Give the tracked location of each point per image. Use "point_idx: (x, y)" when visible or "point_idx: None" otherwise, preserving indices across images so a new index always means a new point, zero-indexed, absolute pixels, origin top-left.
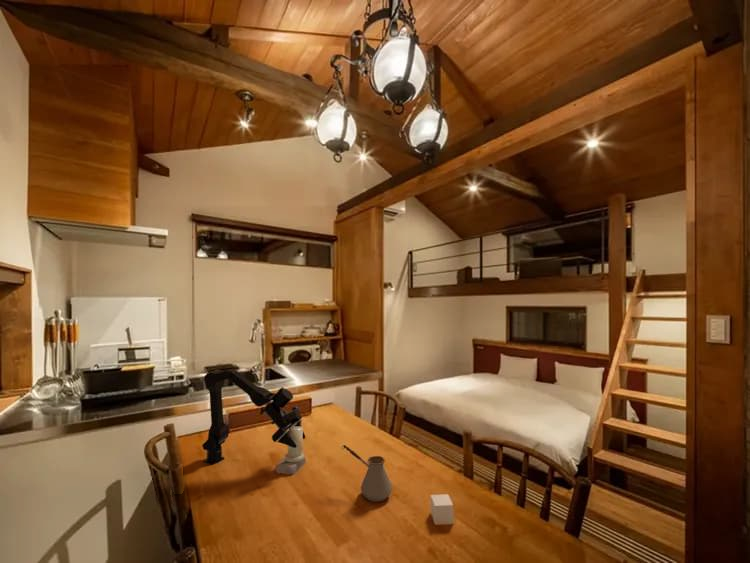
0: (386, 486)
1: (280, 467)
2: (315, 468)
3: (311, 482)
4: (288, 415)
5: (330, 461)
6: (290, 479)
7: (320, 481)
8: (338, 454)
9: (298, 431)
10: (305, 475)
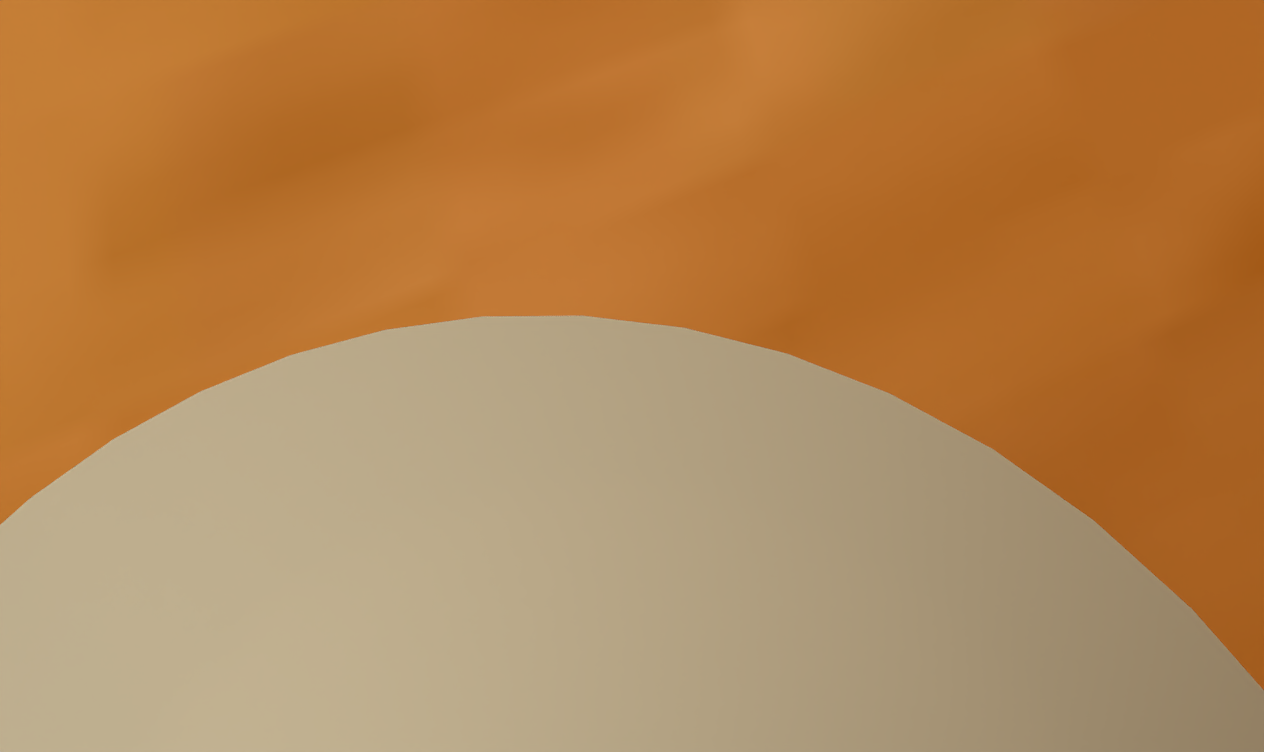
0: None
1: None
2: (665, 291)
3: (1198, 150)
4: None
5: (332, 118)
6: (1249, 620)
7: (1107, 14)
8: (27, 77)
9: (1059, 532)
10: (989, 372)
